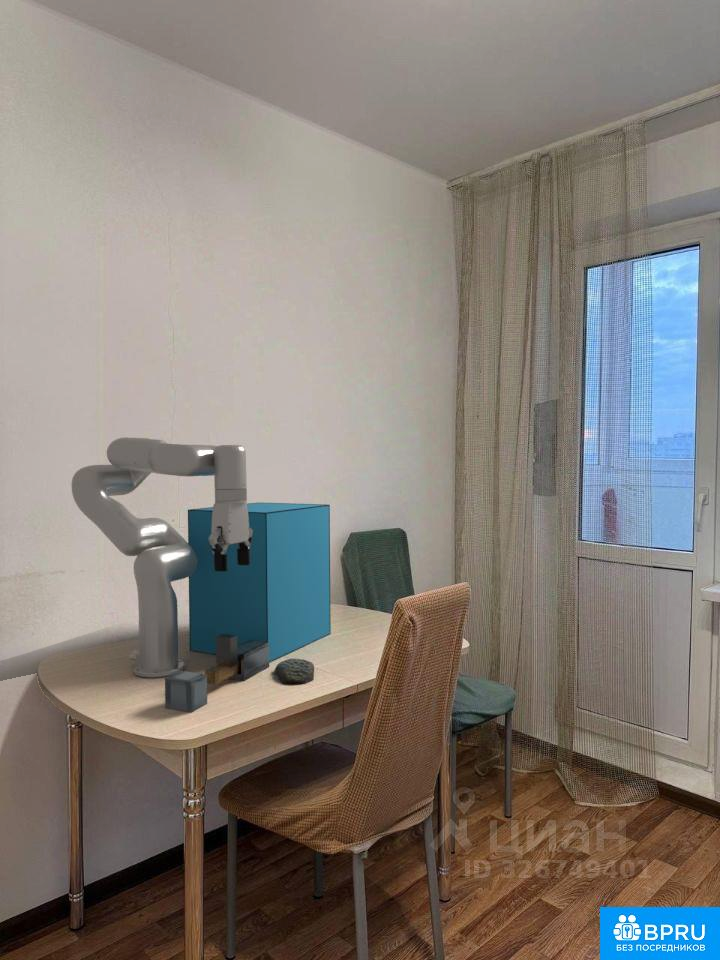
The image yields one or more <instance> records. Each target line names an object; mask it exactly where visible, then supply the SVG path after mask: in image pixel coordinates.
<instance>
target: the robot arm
mask: <svg viewBox="0 0 720 960" xmlns="http://www.w3.org/2000/svg"><path fill="white" fill-rule="evenodd" d="M246 452H247V451H246V449H245V447H244V446H243V445H239V444H221V445H214V444H213V445H211V444H210V445H209V444H182V443H181V444H180V443H179V444H178V443H167V442H166V440H164V439H157V438H156V439H153V438H146V437H129V436H128V437H120V438H117V439H115V440H112V442H110V444H109V445H108V446H107V449H106V458H107V460H108V461H109V463H110V464H93V465H88V466H87V465H86V466H84V467H81V468H80V469H78V470H77V471H76V472H75V473H74V475H73V476H72V479H71V493H72V497H73V500H74V504H75V505H76V506H77V507H78V509H79V510H80V512H82V513H83V515H84V516H86V518H87V519H88V520H90V521H91V522H92V523H93V524H94V525H95V526H96V527H98V529H99V530H100V531H101V532H102V533H103V535H104V536H105V537H106V538H107V539H108V540H109V541H110V542H111V544H113V546H115V548H116V549H117V550H118V551H119V552H120V553H121V554H123V555H124V556H125V557H136V558H135V559H134V561H133V574H134V579H135V583H136V589H137V600H138V601H137V602H138V650H132V651H131V653H130V655H129V656H128V659H129V661H135V662H136V663H135V665H134V666H133V667H132V668H133V669H132V673H133V674H134V675H135V676H138V677H141V678H163V677H169V676H171V675H173V674H175V673H177V672H179V671H184V669H185V666H186V665H185V662H184V661H182V660H180V659H179V630H178V629H179V628H178V627H179V626H178V625H179V621H178V619H179V618H178V617H179V616H178V598H177V594H176V592H175V590H174V587H173V586H172V582H176V581H180V580H183V579H186V578H189V576H191V575H192V574H193V573H194V572H195V571H196V569H197V565H198V560H197V556H196V553H195V551H194V550H193V548H192V547H191V546H190V545H189V544H188V541H187V540H186V539H185V538H184V537H183V536H182V535H181V534H180V533H179V532H178V531H177V530H176V529H175V528H174V527H173V526H172V525H171V524H170V523H168V522H167V521H166V520H164V519H162V518H159V517H146V518H139V517H136V516H135V515H134V514H133V513H131V512H130V511H129V509H128V508H127V507H126V506H125V505H124V504H122V503H121V502H119V501H118V500H115V499H113V498H112V497H113V496H126V495H128V494H131V493H132V492H134V491H135V490H137V488H138V487H139V486H140V485H141V484H142V483H144V481H145V480H146V479H147V478H148V477H149V476H150V475H151V473H153V474H158V475H160V474H161V475H166V476H174V477H175V476H176V477H210V476H211V477H212V476H214V477H213V478H214V503H213V506H212V507H213V512H212V528H211V535H210V536H209V542H210V544H211V549H212V550H213V554H214V565H215V571H224V572H225V571H227V554H225V552H226V550H227V547H228V545H233V544H237V545H238V547H239V548H240V549H239V548H238V549H237V563H238V565H249V564H250V552H249V549H250V547H251V545H250V543H251V541H252V538H251V537H252V533H253V530H252V529H251V528H250V527H249V517H248V509H247V504H248V496H247V495H248V494H247V493H248V491H247V488H248V487H247V455H246V454H247V453H246ZM221 546H223V547H222V548H221Z"/></svg>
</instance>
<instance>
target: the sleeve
mask: <svg viewBox="0 0 720 960" xmlns="http://www.w3.org/2000/svg"><path fill="white" fill-rule="evenodd" d="M237 653H238V658H241V671H240V672H238V673H236V674H234V675H232V676H230V677H228V678H226V679H227V680H228V679H229V680H234V681H243V682H245V681H247V680H248V679H250V678H252V677H254V676H256V675H257V674H259V673H261V672H263V671H264V670H266V669H268V668H270V663H269V642H265V641H256V640H249V641H247V642H245V643H243V644H241V645H238V646H237Z"/></svg>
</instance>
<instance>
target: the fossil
mask: <svg viewBox="0 0 720 960" xmlns="http://www.w3.org/2000/svg"><path fill="white" fill-rule="evenodd" d="M274 675H275V677H277V680H278V681H279V682H280V683H281V684H283V685H287V686H301V685H306V684H308V683H310V682H313V681H314V679H315V665H314V663H313V662H312V661H309V660H307V659H304V658H287V659H285V660H282V661H280V662H279V663H278V664H276V666H275V668H274Z"/></svg>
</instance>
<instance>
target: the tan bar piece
mask: <svg viewBox="0 0 720 960" xmlns="http://www.w3.org/2000/svg"><path fill="white" fill-rule="evenodd" d="M215 656H216V657H215V659H216V664H215V665H214V666H212V667H210V668H207V669H205V670H204V674H207V685H218V684H219V683H221V682H222V681H224V680H226V679H227V678H228V677H230V676H232V675H234V674H236V673H238V672H240V671H241V658H238V653H237V635H230V634H221V635H219V636H217V637H216V655H215Z"/></svg>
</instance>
